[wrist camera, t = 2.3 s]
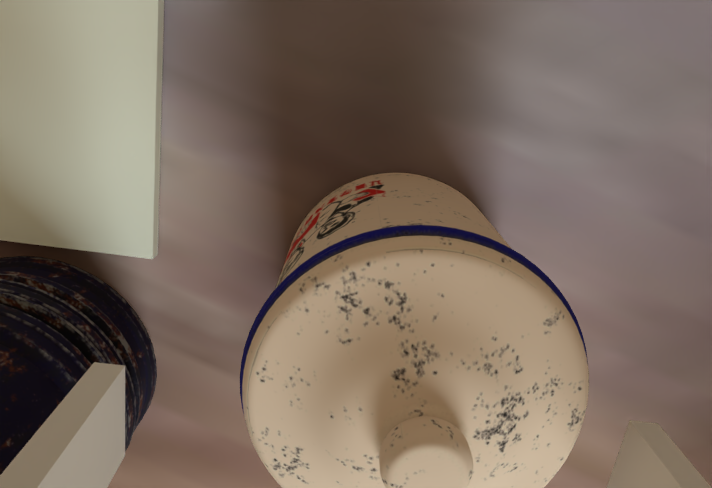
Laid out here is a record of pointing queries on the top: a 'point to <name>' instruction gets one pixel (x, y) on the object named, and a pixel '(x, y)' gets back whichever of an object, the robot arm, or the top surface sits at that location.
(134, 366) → the dark blue canister
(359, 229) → the teacup with lid
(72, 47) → the coaster
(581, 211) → the top surface
